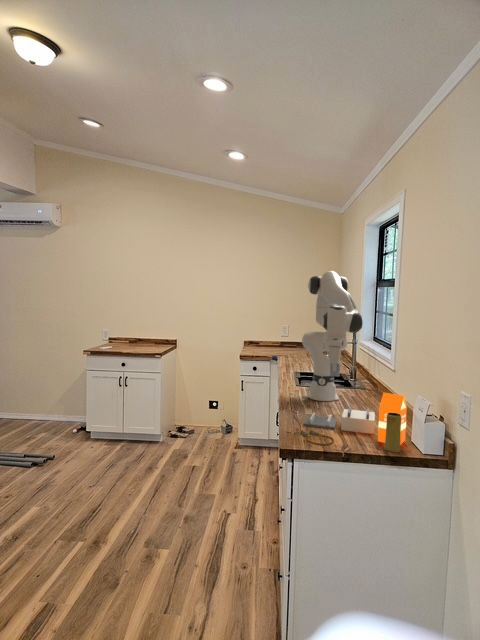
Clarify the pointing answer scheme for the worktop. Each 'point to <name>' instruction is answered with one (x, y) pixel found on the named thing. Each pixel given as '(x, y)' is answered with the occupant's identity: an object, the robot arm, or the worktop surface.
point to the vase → (393, 432)
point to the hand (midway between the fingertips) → (334, 370)
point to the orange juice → (391, 405)
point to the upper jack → (358, 421)
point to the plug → (335, 373)
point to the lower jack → (320, 421)
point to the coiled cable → (315, 434)
